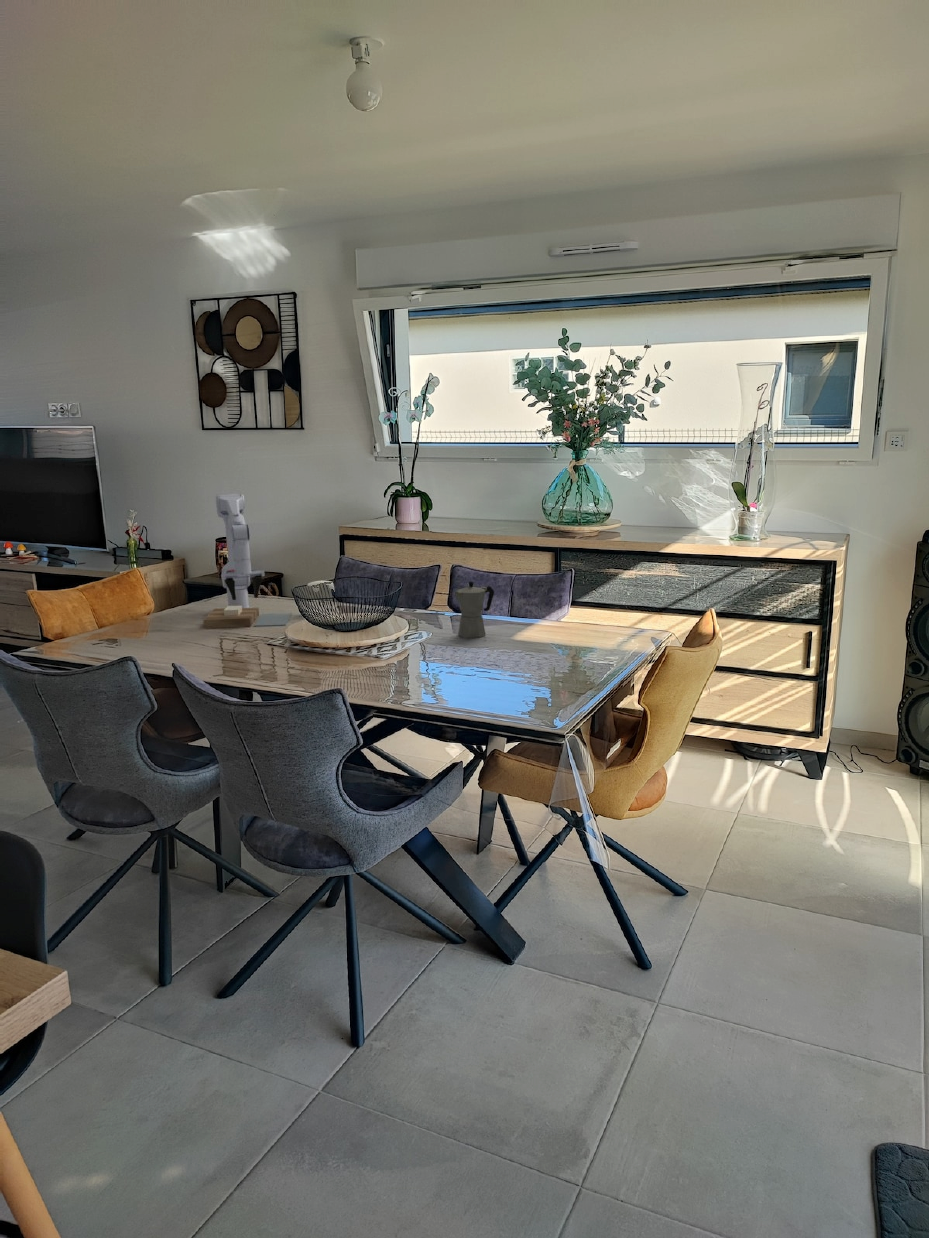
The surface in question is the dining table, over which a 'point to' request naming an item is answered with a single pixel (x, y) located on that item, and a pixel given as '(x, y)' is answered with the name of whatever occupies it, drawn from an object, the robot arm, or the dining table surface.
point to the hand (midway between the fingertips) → (245, 598)
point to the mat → (273, 619)
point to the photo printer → (319, 583)
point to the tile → (232, 610)
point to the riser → (231, 618)
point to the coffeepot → (473, 610)
